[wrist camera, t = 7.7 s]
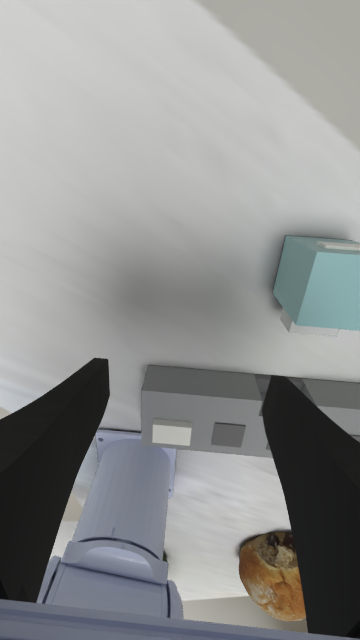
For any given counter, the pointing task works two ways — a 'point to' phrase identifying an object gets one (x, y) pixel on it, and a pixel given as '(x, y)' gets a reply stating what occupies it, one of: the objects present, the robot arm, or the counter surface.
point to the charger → (319, 285)
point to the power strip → (228, 409)
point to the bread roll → (273, 575)
